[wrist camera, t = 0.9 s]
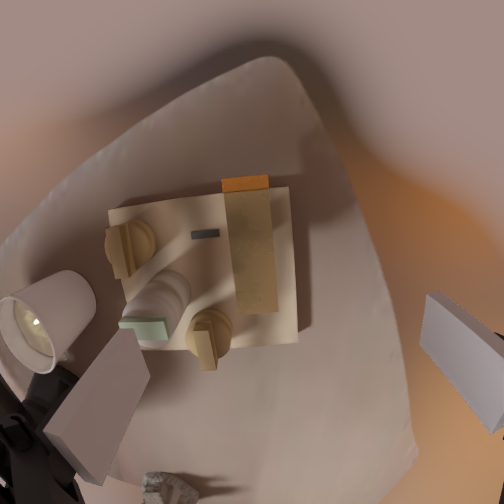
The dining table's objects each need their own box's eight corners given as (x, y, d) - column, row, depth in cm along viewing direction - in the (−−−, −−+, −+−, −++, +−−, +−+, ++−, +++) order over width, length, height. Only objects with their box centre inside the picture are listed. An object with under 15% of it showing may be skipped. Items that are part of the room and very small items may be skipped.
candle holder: (69, 249, 32) (10, 279, 21) (114, 306, 34) (68, 355, 23) (39, 288, 34) (-11, 322, 22) (79, 338, 36) (38, 384, 24)
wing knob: (242, 273, 31) (238, 315, 21) (232, 178, 28) (221, 178, 19) (272, 270, 30) (279, 311, 21) (263, 175, 28) (267, 174, 19)
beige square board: (145, 342, 36) (114, 394, 25) (115, 208, 31) (59, 224, 20) (296, 333, 35) (310, 392, 24) (286, 186, 30) (304, 191, 20)
